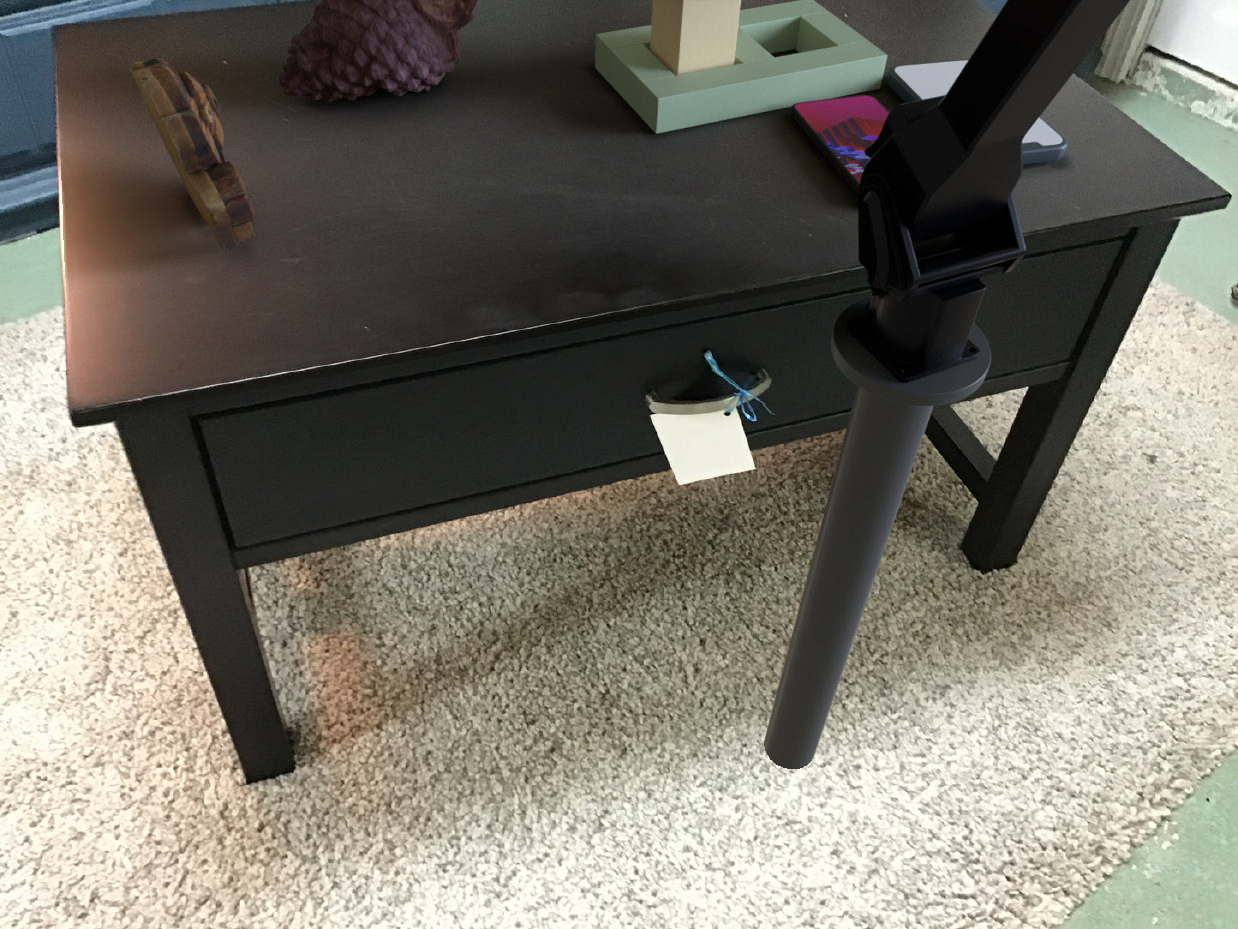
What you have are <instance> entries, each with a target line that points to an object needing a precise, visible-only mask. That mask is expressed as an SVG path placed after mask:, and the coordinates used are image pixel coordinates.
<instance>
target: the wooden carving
mask: <svg viewBox="0 0 1238 929" xmlns="http://www.w3.org/2000/svg"><path fill="white" fill-rule="evenodd" d="M129 69H130V71H131V72H130V73H131V74H132V77H133V78H134V81H135V83H136V86H137V88H138V90H139V91H140V95H141V96H142V98H143V100H144V104H145V109H146V110H147V112H148V115H149V116H150V118H151V119H152V121H153V123H154V125H155V127H156V129H157V131H158V133H159V135H160V138H161V140H162V143H163V145H164V147H165V149H166V152H167V153H168V155H169V157H170V159H171V161H172V164H173V166H174V167H175V170H176V171H177V173H178V175H179V177H180V180H181V181H182V183H183V185H184V186H185V189H186V191H187V192H188V194H189V196H190V198H191V201H192V202H193V204H194V205H195V207H196V209H197V210H198V212H199V214H200V216H201V218H202V219H203V221H204V222H205V223H206V225H208V227H209V229H210V230H211V232H212V234H213V236H214V238H215V239H216V241H217V243H218V244H219V246H220V248H221V249H222V250H223V251H228V250H230V249H233V248H235V247H237V246H240V244H241V243H243V242H246V241H248V240H252V239H255V238H256V234H255V231H254V228H253V225H252V222H254V221H255V211H254V210H255V209H254V207H253V203H252V201H251V199H250V197H249V194H248V192H247V190H246V186H245V183H244V181H243V179H242V177H241V174H240V172H239V170H238V169H237V167H236V166H235V165H234V164H233V162H231V161H230V160H227V158H226V157H225V154H224V153H223V148H224V138H225V134H224V130H223V126H222V123H221V121H220V117H221V107H220V104H219V102H218V99H217V97H216V95H215V93H214V92H213V90H212V89H211V88H210V87H209V85H207V84H206V83H202V84H201V83H200V82H198V80H196V79H195V78H194V77H193V76H192V75H190V74H189V73H188V72H187V71H185V70H183V71H180V72H178V71H177V70H176V69H175V68H174V67H173V66H172V64H170V63H169V62H167V61H166V60H165V59H164V58H163V57H162V56H156V57H153V58H151V59H149V60H147V61H144V62H142V61H135V62H131V63H130V65H129Z"/></svg>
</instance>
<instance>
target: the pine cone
mask: <svg viewBox="0 0 1238 929" xmlns="http://www.w3.org/2000/svg"><path fill="white" fill-rule="evenodd" d="M477 3H478V0H321V1H320V2H319V3H317V4H315V6H314V8H313V9H314V10H313V16H312V17H311V19H310V22H309V23H306V24H305V26H304V28H303V29H301V30H300V33H299V34H298V35H293V36H292V38H291V39H290V43H291V45H290V46H289V48H288V49H287V52H288V54H289V56H288V57H286V60H285V61H286V63H284V64H283V66H282V71H280V72H279V74H278V81H279V82H278V85H279V87H281V88H284V89H283V94H285V96H287V97H288V98H289V99H291V100H293V99H296V98H297V97H300V96H302V97H304V98H305V97H309V98H310V99H311V100H312V101H319V100H321V99H323V100H324V101H326V102H328V103H333V102H334V101H336V100H338V99H341V100H342V99H343V100H345V99H346V100H349V101H355V100H356V98H361V97H370V96H372V95H374V94H375V93H376V92H377V91H378V90H382V89H383V90H385V91H386V92H388V93H391V94H392V95H394V96H395V97H402V96H403V95H405V94H406V93H407V92H411V93H421V92H424V93H427V92H429V91H430V90H431V87H433V86H438V85H439V83H440V82H441V80H442V79H443V78H444V76H445V75H446V74H449V73H451V72H453V71H454V69H455V66H456V63H459V61H460V60H461V56H462V54H461V46H460V41H459V37H458V31H459V30H461V29H462V28H465V27H466V26H467V25H469V24H470V23H471V22H472V21H473V20H474V17H475V15H473V11H474V10H475V7H476V6H477ZM454 61H456V63H455V62H454Z"/></svg>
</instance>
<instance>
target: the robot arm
mask: <svg viewBox="0 0 1238 929" xmlns="http://www.w3.org/2000/svg"><path fill="white" fill-rule="evenodd" d="M1130 2H1131V0H1006V1H1005V3H1004V4H1003V5H1002V7H1001V8H1000V10H999V12H998V13H997V15H996V17H995V18H994V20H993V21H992V22H991V24H990V26H989V27H988V29H987V30H986V32H985V33H984V35H983V36H982V38H981V40H980V41H979V43H978V45H977V46H976V47H975V48H974V50H973V52H972V54H970V56H969V58H968V59H967V60H968V61H967V63H966V64H965V66H964V68H963V69H962V71H961V72H960V74H959V75H958V77H957V78H956V80H955V81H954V83H953V85H952V86H951V88H950V89H949V91H948V92H947V94H946V95H943V96H938V97H933V98H928V99H923V100H919V101H914V102H909V103H905V102H903V103H900V104H897V105H895V107H894V108H892V109H891V111H889V112H890V114H889V115H888V116H887V118H886V120H885V123H884V125H883V128H882V130H881V132H880V134H879V136H878V138H877V140H876V141H875V142H874V143H873V145H871V146H870V147H868V148H866V149H865V155H866V156H868V157H870V160H869V161H868V162H867V164H866V166H865V168H864V171H863V173H862V176H861V180H860V188H859V193H858V194H857V207H858V208H857V220H858V221H857V231H858V232H857V233H858V236H857V237H858V247H857V248H858V262H859V263H860V265H861V266H863V268H865V270H867V278H866V283H868V284H869V285H870V291H871V292H872V294H871V296H868V297H867V298H868V301H867V304H866V308H865V310H866V311H867V312H868V313H867V315H864V316H861V317H858V318H854V319H851V320H849V321H848V323H847V327H846V328H847V330H848V331H849V332H850V333H851V334H852V335H853V336H854V337H855V338H856V339H857V340H858V341H859V342H860V343H861V344H862V345H863V346H864V347H865V348H866V349H867V350H868V351H869V352H870V353H871V354H872V355H873V356H874V357H875V358H876V359H877V360H878V361H879V362H880V363H881V364H882V365H883V366H884V367H885V368H886V369H887V370H888V371H889V372H890V373H891V374H892V375H893V376H894V377H895V378H896V379H897V380H898V381H900V382H902V383H909V382H912V381H915V380H918V379H920V378H923V377H926V376H929V375H932V374H935V373H938V372H940V371H943V370H946V369H949V368H952V367H955V366H958V365H961V364H963V363H966V362H969V361H972V360H975V359H977V358H978V356H979V353H980V350H979V348H978V347H977V346H975V345H974V344H973V343H972V342H971V341H970V340H969V339H968V338H969V335H970V332H971V329H972V326H973V323H974V324H975V321H976V318H977V315H978V312H979V309H980V307H981V304H982V300H983V298H984V295H985V292H986V289H987V285H986V284H984V283H983V282H982V281H981V279H982V278H986V277H989V276H992V275H996V274H999V273H1002V274H1005V273H1010V272H1012V271H1013V269H1014V268H1016V266H1017V265H1018V264H1019V263H1020V261H1021V260H1022V259H1023V258H1024V257H1025V255H1026V254H1027V247H1026V243H1025V239H1024V236H1023V232H1022V228H1021V223H1020V220H1019V215H1018V212H1017V209H1016V204H1015V200H1014V197H1013V191H1014V189H1015V188H1016V186H1017V184H1018V182H1019V181H1020V178H1021V176H1022V174H1023V170H1024V165H1023V152H1022V140H1023V138H1024V137H1025V135H1026V133H1027V132H1028V131H1029V129H1030V128H1031V127H1032V126H1033V124H1034V123H1035V122H1036V121H1037V119H1038V118H1039V117H1041V116H1042V115H1043V113H1044V112H1045V110H1046V109H1047V108H1048V107H1049V105H1050V104H1051V103H1052V102H1053V100H1054V99H1055V98H1056V96H1057V95H1058V94H1059V92H1060V91H1061V90H1062V89H1063V87H1064V86H1065V85H1066V84H1067V82H1068V81H1069V80H1070V78H1072V76H1073V74H1074V73H1075V72H1076V71H1077V69H1078V68H1079V67H1080V66H1081V65H1082V63H1083V62H1084V60H1085V59H1086V58H1087V57H1088V55H1089V54H1090V53H1091V52H1092V50H1093V49H1094V48H1095V46H1096V45H1097V44H1098V43H1099V41H1100V40H1101V39H1102V37H1103V36H1104V35H1105V33H1107V31H1108V30H1109V29H1110V27H1111V26H1112V24H1113V23H1114V22H1115V21H1116V19H1117V18H1118V17H1119V15H1120V14H1121V13H1122V12H1123V11H1124V9H1125V8H1126V7H1127V5H1128V4H1129V3H1130ZM904 375H905V376H904Z"/></svg>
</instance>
